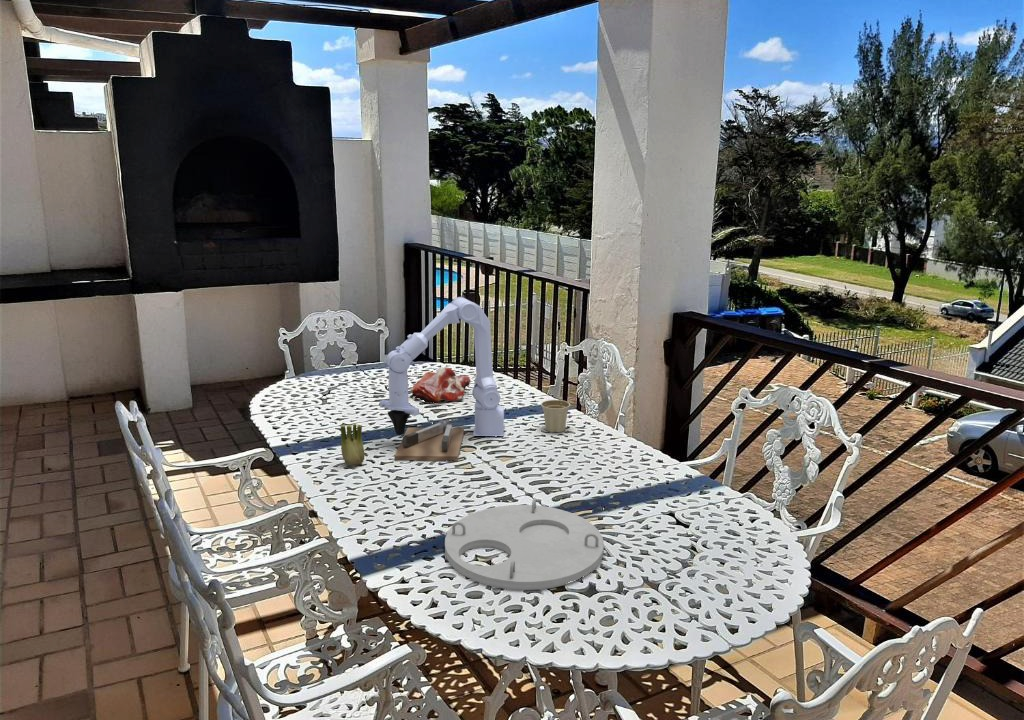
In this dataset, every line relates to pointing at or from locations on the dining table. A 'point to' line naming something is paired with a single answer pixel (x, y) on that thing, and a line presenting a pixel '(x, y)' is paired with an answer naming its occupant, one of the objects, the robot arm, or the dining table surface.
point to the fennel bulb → (352, 445)
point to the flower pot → (555, 414)
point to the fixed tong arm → (446, 438)
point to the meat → (440, 386)
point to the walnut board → (431, 447)
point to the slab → (526, 546)
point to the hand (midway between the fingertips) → (399, 433)
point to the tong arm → (425, 433)
